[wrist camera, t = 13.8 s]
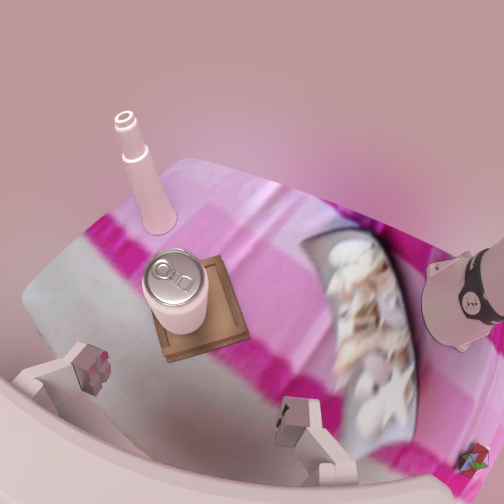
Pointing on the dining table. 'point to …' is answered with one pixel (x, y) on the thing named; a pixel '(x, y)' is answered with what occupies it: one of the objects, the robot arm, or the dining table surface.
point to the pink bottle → (144, 177)
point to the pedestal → (208, 319)
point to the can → (176, 290)
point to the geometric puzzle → (474, 460)
